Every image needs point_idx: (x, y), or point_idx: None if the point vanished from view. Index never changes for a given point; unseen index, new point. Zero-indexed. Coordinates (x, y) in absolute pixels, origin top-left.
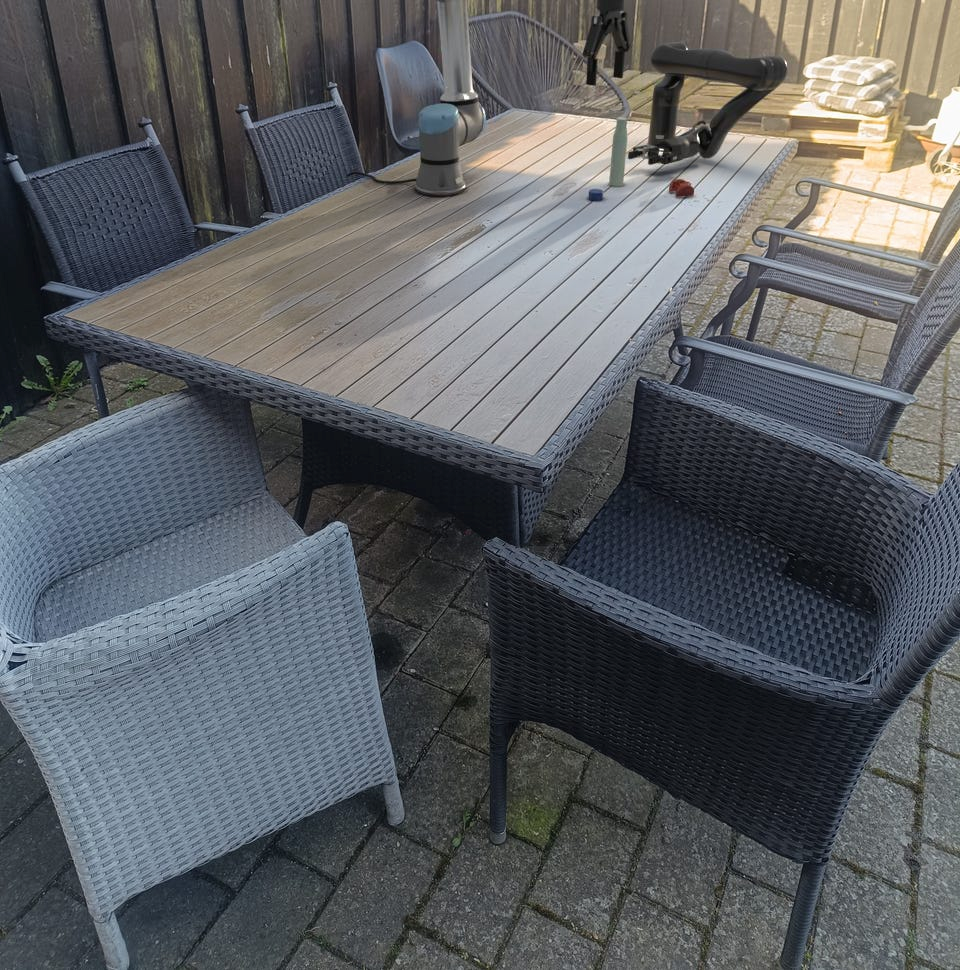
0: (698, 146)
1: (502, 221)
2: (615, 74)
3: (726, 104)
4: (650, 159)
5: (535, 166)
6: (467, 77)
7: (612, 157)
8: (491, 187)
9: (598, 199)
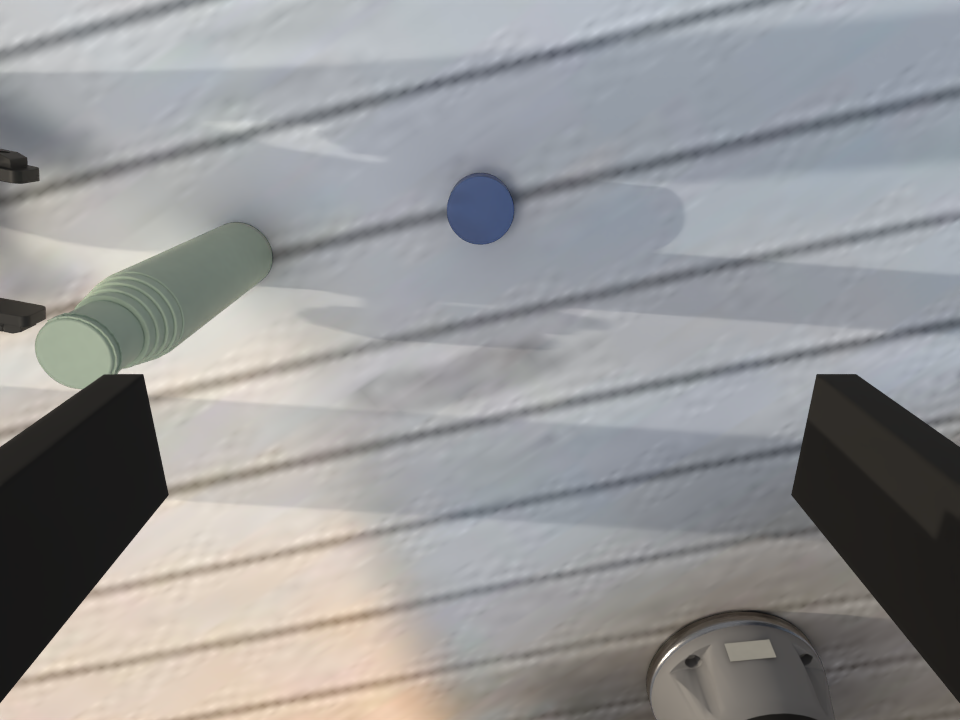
0: None
1: (950, 328)
2: (143, 486)
3: None
4: (20, 169)
5: (287, 614)
6: None
7: (226, 301)
8: (608, 581)
9: (498, 179)
